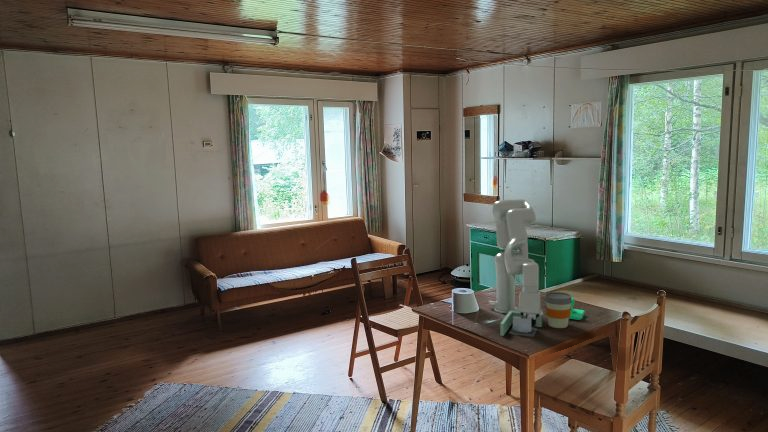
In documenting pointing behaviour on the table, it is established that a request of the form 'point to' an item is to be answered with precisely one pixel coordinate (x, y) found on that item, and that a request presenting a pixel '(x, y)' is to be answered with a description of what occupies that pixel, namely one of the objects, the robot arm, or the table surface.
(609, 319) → the table surface
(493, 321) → the table surface
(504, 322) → the corner walls
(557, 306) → the reusable coffee cup
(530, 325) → the bracket
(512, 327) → the mat
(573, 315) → the camera mount
